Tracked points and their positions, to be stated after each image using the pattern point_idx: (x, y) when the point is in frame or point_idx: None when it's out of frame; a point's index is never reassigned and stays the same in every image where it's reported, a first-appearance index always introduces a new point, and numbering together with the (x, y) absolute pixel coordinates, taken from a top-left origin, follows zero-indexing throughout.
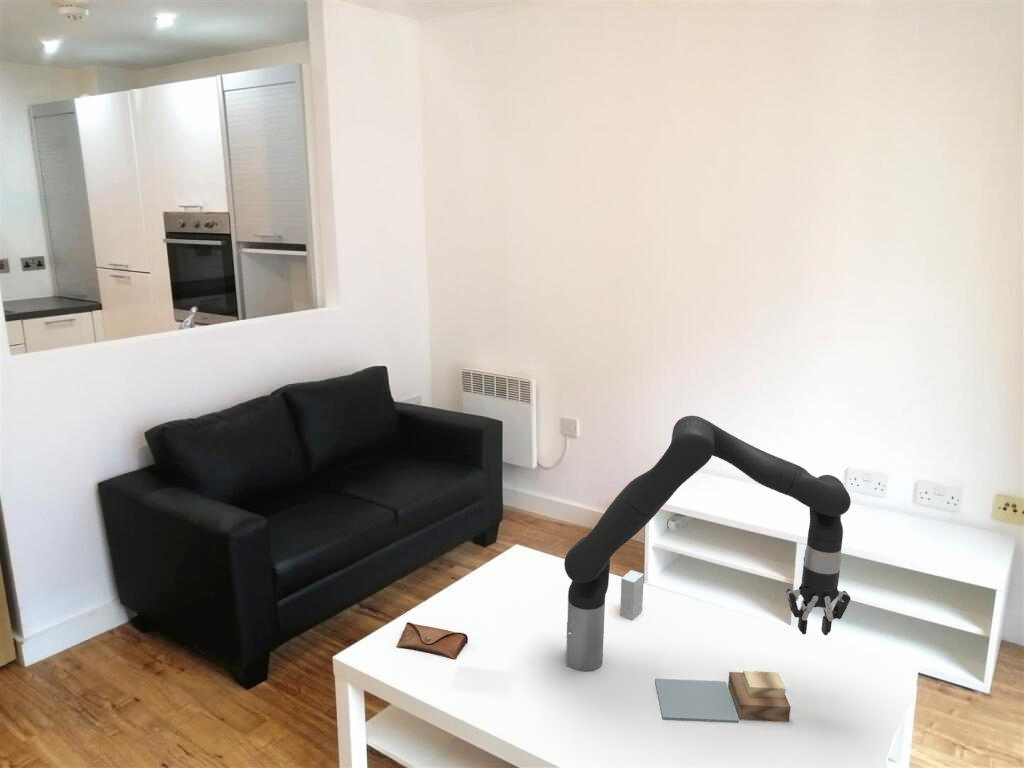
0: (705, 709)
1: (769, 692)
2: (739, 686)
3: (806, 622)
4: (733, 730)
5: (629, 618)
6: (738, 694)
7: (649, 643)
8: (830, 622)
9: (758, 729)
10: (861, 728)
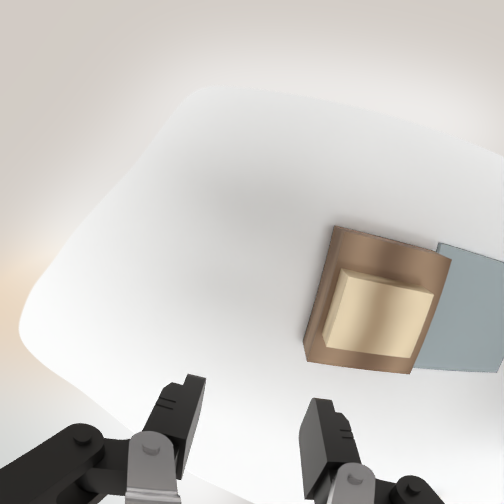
0: (478, 285)
1: (383, 281)
2: None
3: (331, 451)
4: (456, 222)
5: None
6: (438, 295)
7: (441, 454)
8: (153, 428)
9: (411, 214)
10: (171, 179)
